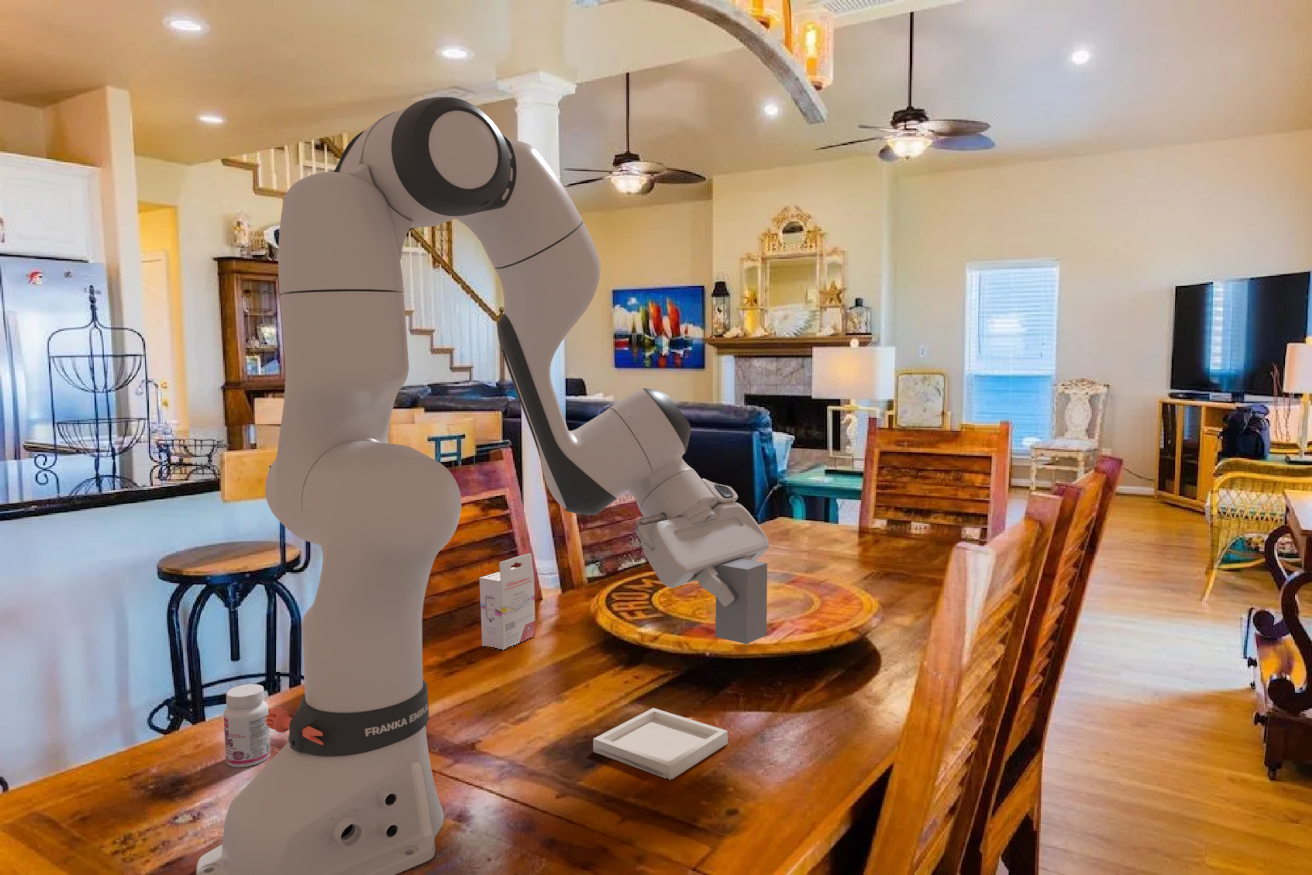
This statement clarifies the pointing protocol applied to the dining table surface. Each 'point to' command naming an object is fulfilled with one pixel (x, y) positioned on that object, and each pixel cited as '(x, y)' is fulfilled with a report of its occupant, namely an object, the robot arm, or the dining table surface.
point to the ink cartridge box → (508, 604)
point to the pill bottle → (246, 726)
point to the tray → (660, 742)
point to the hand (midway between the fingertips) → (745, 597)
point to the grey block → (743, 601)
